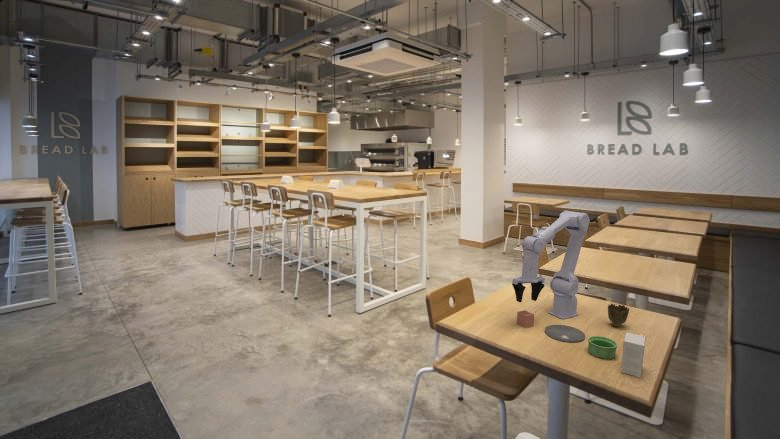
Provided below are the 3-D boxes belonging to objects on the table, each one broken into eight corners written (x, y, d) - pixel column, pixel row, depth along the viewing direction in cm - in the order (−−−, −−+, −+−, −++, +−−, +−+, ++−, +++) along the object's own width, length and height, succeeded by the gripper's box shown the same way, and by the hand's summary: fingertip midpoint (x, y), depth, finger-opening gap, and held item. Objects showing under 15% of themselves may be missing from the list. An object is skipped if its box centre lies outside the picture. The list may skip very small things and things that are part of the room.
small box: (622, 361, 133) (625, 331, 131) (642, 367, 130) (646, 336, 128) (620, 372, 127) (623, 340, 125) (641, 378, 123) (644, 345, 122)
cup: (626, 324, 163) (628, 305, 162) (628, 331, 156) (630, 311, 155) (605, 321, 166) (607, 302, 165) (606, 327, 159) (608, 308, 158)
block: (524, 321, 165) (524, 310, 164) (533, 326, 160) (534, 314, 159) (516, 323, 163) (517, 311, 162) (526, 328, 158) (526, 316, 158)
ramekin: (605, 362, 133) (606, 349, 132) (581, 350, 141) (582, 338, 140) (622, 356, 137) (623, 344, 136) (598, 345, 145) (599, 333, 144)
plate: (562, 324, 163) (562, 322, 162) (593, 338, 150) (593, 336, 150) (536, 330, 156) (536, 328, 156) (567, 345, 144) (567, 343, 144)
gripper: (522, 270, 152) (519, 305, 153) (552, 269, 158) (547, 302, 159) (510, 265, 158) (506, 299, 160) (538, 264, 164) (534, 297, 166)
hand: (526, 300), depth 160 cm, fingers open, 7 cm apart
